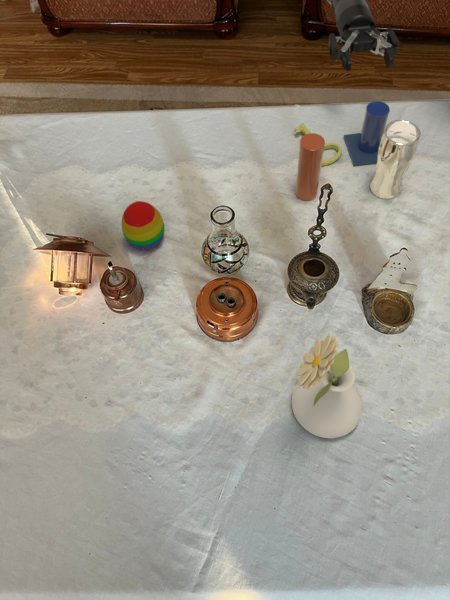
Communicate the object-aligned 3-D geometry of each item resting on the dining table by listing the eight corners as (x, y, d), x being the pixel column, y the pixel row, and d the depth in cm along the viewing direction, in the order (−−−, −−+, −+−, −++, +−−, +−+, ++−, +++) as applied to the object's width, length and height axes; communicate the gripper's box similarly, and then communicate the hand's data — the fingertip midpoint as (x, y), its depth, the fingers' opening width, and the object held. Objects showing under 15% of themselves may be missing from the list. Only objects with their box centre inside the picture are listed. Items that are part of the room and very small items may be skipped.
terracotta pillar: (314, 183, 111) (321, 131, 99) (319, 199, 109) (327, 148, 97) (293, 186, 111) (297, 134, 99) (297, 202, 109) (302, 152, 97)
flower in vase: (323, 361, 90) (344, 285, 69) (375, 407, 86) (415, 341, 64) (269, 411, 86) (274, 347, 65) (321, 463, 82) (344, 412, 60)
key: (300, 128, 120) (301, 121, 118) (345, 152, 115) (347, 145, 113) (280, 146, 117) (281, 139, 115) (326, 172, 113) (327, 164, 111)
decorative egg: (168, 222, 108) (161, 189, 99) (164, 255, 104) (156, 223, 95) (129, 222, 108) (118, 189, 100) (124, 255, 104) (112, 223, 95)
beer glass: (362, 180, 111) (376, 124, 98) (392, 172, 112) (410, 115, 99) (377, 204, 107) (393, 149, 94) (408, 195, 108) (428, 139, 95)
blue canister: (376, 137, 116) (386, 99, 107) (382, 152, 114) (392, 114, 105) (355, 140, 116) (364, 102, 107) (361, 154, 113) (369, 117, 105)
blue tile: (382, 132, 118) (383, 129, 117) (394, 161, 113) (395, 158, 112) (343, 137, 117) (343, 134, 117) (353, 166, 113) (354, 163, 112)
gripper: (323, 6, 114) (338, 52, 105) (389, 0, 114) (408, 45, 105) (320, 39, 120) (333, 84, 112) (382, 33, 120) (400, 78, 112)
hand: (370, 65), depth 109 cm, fingers open, 8 cm apart
